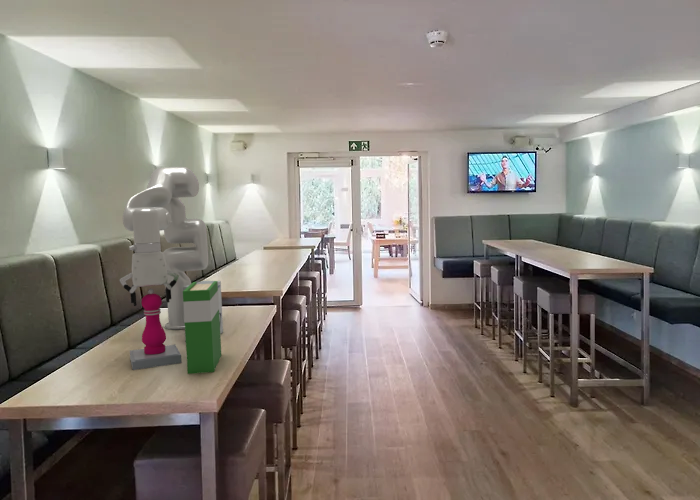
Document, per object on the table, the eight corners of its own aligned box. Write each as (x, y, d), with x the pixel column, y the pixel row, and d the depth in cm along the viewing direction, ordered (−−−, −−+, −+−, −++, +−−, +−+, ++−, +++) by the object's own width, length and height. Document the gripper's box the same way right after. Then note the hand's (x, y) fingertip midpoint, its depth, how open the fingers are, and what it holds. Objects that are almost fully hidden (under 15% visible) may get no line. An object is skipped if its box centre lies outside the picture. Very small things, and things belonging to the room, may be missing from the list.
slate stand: (130, 358, 174) (129, 349, 174) (175, 351, 180) (175, 343, 180) (132, 370, 162) (132, 361, 161) (181, 362, 167) (181, 354, 167)
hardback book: (197, 356, 174) (193, 281, 172) (221, 354, 175) (217, 280, 173) (187, 373, 157) (182, 291, 154) (214, 372, 157) (209, 290, 155)
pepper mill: (139, 355, 167) (135, 291, 165) (146, 349, 174) (142, 287, 172) (163, 354, 168) (159, 290, 166) (169, 348, 175) (165, 286, 173)
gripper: (117, 251, 161) (122, 308, 162) (178, 247, 168) (182, 302, 170) (116, 249, 167) (121, 304, 169) (175, 245, 175) (178, 298, 176)
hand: (151, 303), depth 169 cm, fingers open, 9 cm apart
